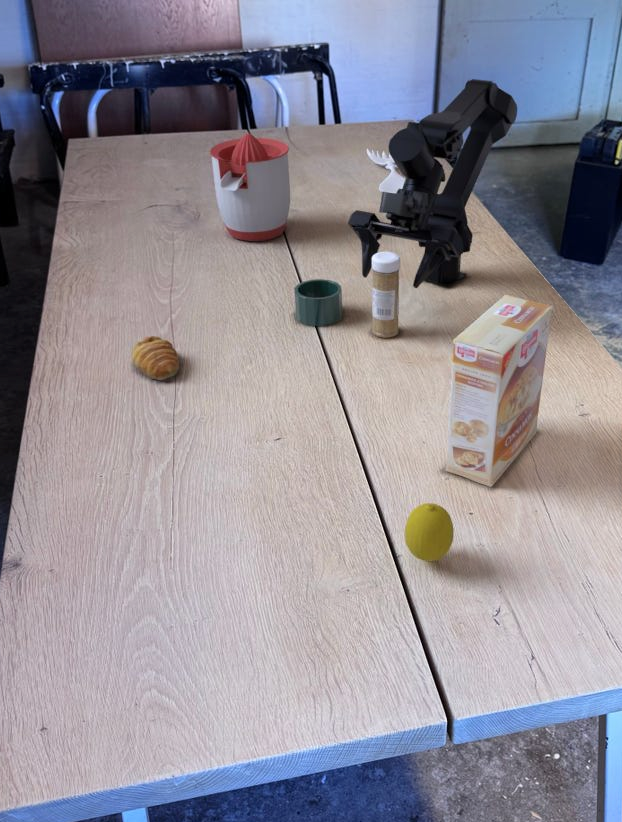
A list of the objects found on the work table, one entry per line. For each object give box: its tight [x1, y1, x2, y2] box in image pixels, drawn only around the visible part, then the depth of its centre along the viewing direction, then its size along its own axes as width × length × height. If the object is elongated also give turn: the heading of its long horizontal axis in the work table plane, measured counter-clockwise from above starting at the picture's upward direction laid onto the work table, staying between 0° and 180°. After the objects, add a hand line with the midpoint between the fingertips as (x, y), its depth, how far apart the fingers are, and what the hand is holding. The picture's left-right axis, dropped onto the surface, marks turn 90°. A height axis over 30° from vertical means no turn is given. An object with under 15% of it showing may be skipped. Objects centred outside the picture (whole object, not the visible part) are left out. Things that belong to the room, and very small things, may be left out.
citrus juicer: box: [209, 132, 291, 242], centre depth 177 cm, size 16×17×20 cm
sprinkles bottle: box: [371, 251, 401, 339], centre depth 143 cm, size 5×5×14 cm
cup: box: [293, 278, 343, 327], centre depth 151 cm, size 8×8×5 cm
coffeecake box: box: [445, 294, 554, 488], centre depth 113 cm, size 15×7×20 cm, turn 148°
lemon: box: [404, 502, 455, 562], centre depth 99 cm, size 6×6×8 cm
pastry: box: [131, 335, 180, 381], centre depth 137 cm, size 9×7×4 cm
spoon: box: [366, 148, 406, 194], centre depth 208 cm, size 9×32×4 cm, turn 7°
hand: (389, 281), depth 143 cm, fingers open, 9 cm apart
